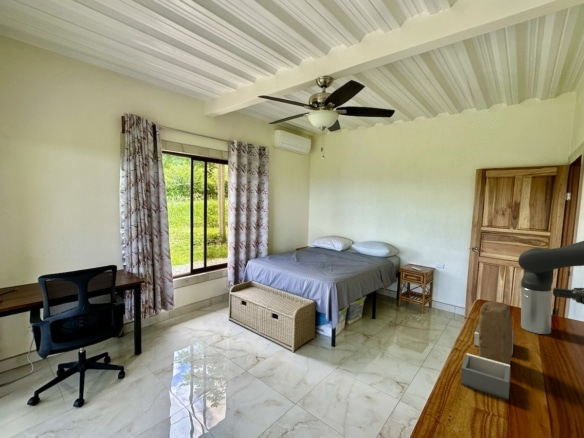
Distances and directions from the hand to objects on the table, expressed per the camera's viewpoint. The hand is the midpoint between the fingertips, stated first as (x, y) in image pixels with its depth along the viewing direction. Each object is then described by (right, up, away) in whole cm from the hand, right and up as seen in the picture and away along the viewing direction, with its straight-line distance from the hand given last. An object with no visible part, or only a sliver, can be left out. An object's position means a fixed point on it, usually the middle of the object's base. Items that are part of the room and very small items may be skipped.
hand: (553, 291), depth 80 cm
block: (-9, -27, +11) cm, 30 cm away
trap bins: (-10, -27, +12) cm, 31 cm away
